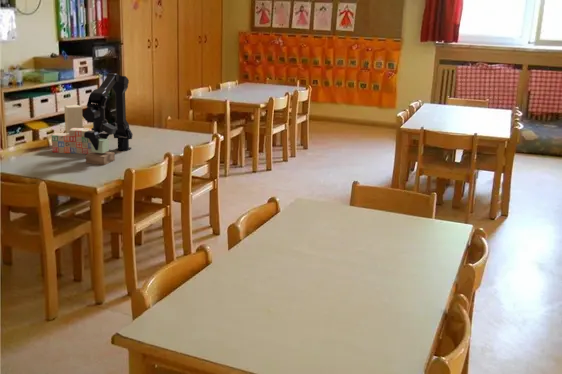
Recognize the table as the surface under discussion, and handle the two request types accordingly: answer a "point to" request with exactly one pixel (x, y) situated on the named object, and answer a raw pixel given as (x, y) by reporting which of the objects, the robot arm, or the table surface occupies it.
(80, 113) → the beige wooden block
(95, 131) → the robot arm
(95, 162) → the walnut base
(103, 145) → the green cube
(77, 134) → the stack of blocks
